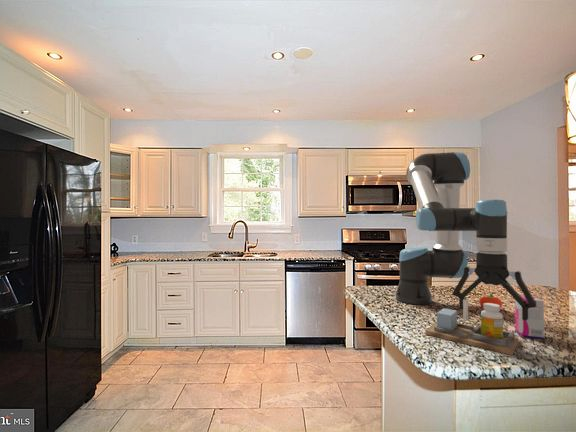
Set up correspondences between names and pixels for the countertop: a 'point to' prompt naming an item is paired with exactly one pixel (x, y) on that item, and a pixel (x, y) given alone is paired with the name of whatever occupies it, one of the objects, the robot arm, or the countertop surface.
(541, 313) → the supplement box
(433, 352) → the countertop surface
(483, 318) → the supplement bottle
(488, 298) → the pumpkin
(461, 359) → the countertop surface
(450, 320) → the block
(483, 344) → the brown tray with rails
